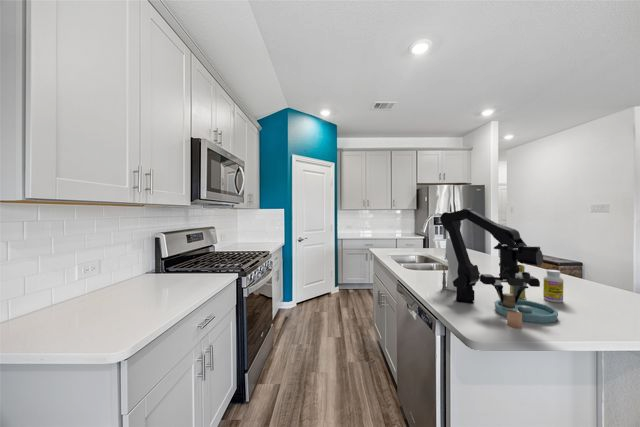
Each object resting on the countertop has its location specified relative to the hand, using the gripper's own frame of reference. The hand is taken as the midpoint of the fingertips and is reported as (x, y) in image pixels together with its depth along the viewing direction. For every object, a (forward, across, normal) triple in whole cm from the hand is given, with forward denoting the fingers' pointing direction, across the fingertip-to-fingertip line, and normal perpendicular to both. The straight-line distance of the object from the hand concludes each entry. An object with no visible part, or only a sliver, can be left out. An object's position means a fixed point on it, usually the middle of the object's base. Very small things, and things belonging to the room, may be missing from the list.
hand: (508, 302), depth 112 cm
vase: (+4, +11, +22) cm, 25 cm away
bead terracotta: (+4, -3, -14) cm, 15 cm away
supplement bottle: (+4, +24, +20) cm, 32 cm away
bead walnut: (+2, 0, 0) cm, 2 cm away
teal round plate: (+4, +5, 0) cm, 7 cm away
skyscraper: (+4, -14, +31) cm, 34 cm away
